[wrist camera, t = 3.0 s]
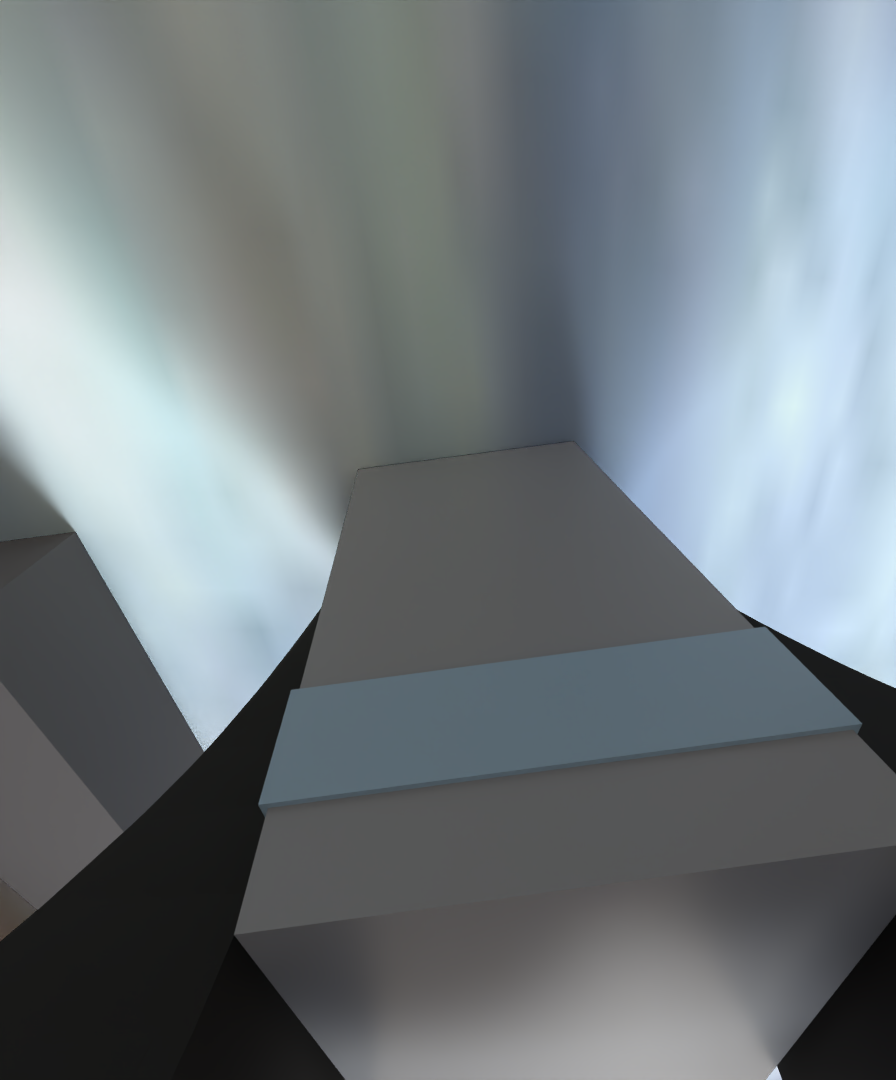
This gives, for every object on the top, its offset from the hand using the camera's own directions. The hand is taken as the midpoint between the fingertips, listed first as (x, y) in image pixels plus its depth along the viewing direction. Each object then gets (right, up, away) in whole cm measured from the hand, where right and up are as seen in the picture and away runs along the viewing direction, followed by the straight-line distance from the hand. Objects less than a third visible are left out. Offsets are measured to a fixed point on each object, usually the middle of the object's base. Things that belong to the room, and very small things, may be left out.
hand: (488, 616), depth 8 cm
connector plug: (0, -1, +2) cm, 3 cm away
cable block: (-9, -3, +3) cm, 10 cm away
